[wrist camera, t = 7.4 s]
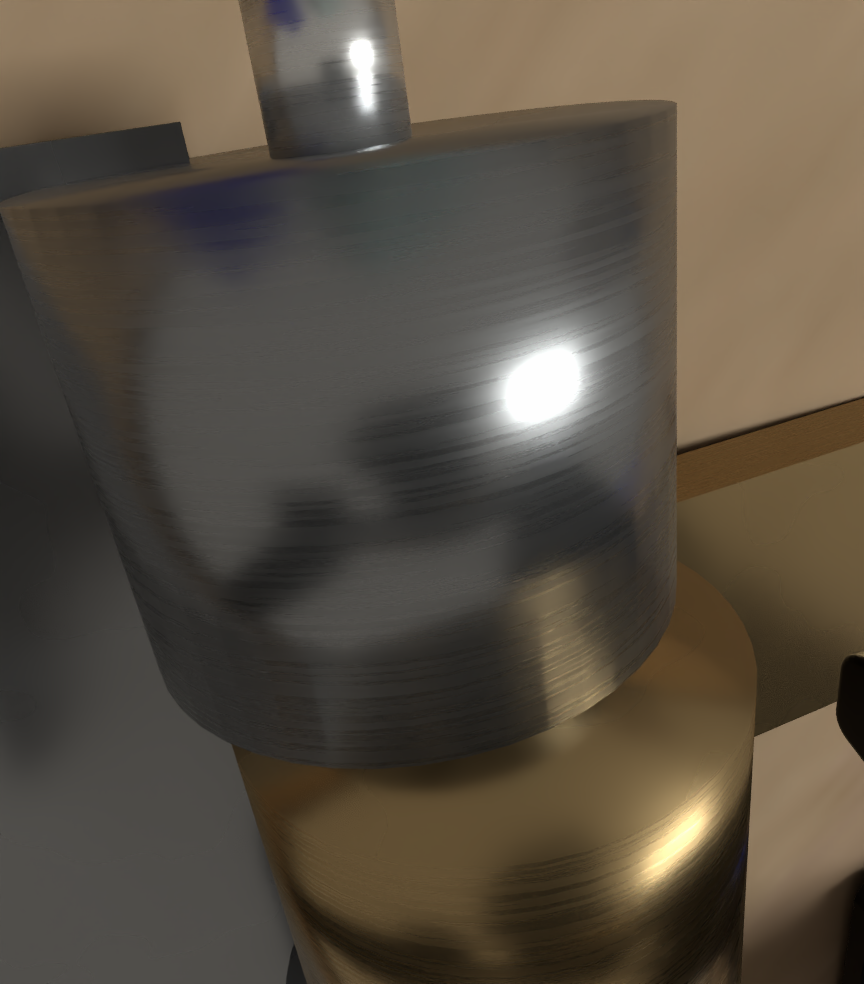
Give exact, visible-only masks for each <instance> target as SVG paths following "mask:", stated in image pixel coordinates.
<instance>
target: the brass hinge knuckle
mask: <svg viewBox="0 0 864 984" xmlns="http://www.w3.org/2000/svg"><path fill="white" fill-rule="evenodd" d="M862 650H864V398H863V399H860V400H856V401H853V402H850V403H847V404H843V405H840V406H837V407H833V408H830V409H827V410H824V411H820V412H817V413H814V414H811V415H807V416H804V417H801V418H798V419H794V420H791V421H788V422H785V423H781V424H778V425H775V426H772V427H768V428H765V429H762V430H759V431H755V432H752V433H749V434H745V435H742V436H739V437H736V438H732V439H729V440H726V441H723V442H719V443H716V444H713V445H710V446H706V447H703V448H700V449H697V450H693V451H690V452H687V453H684V454H680V455H677V584H676V603H675V606H674V609H673V613H672V616H671V620H670V623H669V625H668V627H667V629H666V631H665V633H664V635H663V636H662V638H661V640H660V642H659V644H658V646H657V647H656V648H655V650H654V651H653V652H652V653H651V655H650V656H649V657H648V658H647V659H646V661H645V662H644V663H643V664H642V666H641V667H640V668H639V669H638V670H637V671H636V672H635V673H634V674H633V675H632V676H630V677H629V678H628V679H627V680H626V681H625V682H624V683H623V684H622V685H620V686H619V687H618V688H617V689H616V690H615V691H613V692H612V693H611V694H609V695H608V696H606V697H605V698H603V699H602V700H600V701H599V702H597V703H596V704H594V705H593V706H591V707H590V708H589V709H587V710H586V711H584V712H582V713H580V714H578V715H576V716H574V717H573V718H571V719H569V720H567V721H565V722H563V723H561V724H559V725H557V726H555V727H553V728H551V729H550V730H547V731H545V732H542V733H539V734H537V735H534V736H532V737H529V738H527V739H524V740H522V741H519V742H517V743H514V744H511V745H509V746H505V747H502V748H498V749H494V750H491V751H487V752H484V753H480V754H477V755H473V756H470V757H466V758H460V759H455V760H449V761H444V762H438V763H432V764H427V765H421V766H409V767H397V768H384V769H344V768H327V767H319V766H311V765H303V764H295V763H290V762H286V761H282V760H278V759H274V758H270V757H266V756H262V755H258V754H255V753H253V752H250V751H248V750H245V749H243V748H240V747H238V746H235V745H233V744H231V745H232V748H233V751H234V754H235V757H236V760H237V764H238V767H239V770H240V773H241V776H242V779H243V783H244V786H245V789H246V792H247V795H248V798H249V802H250V805H251V808H252V811H253V814H254V817H255V821H256V824H257V827H258V830H259V833H260V836H261V840H262V843H263V846H264V849H265V852H266V855H267V859H268V862H269V865H270V868H271V871H272V874H273V878H274V881H275V884H276V887H277V890H278V893H279V897H280V900H281V903H282V906H283V909H284V912H285V916H286V919H287V922H288V925H289V928H290V931H291V935H292V938H293V941H294V944H295V947H296V950H297V954H298V957H299V960H300V963H301V966H302V969H303V973H304V976H305V979H306V982H307V984H741V965H742V947H743V929H744V911H745V892H746V874H747V856H748V838H749V819H750V801H751V783H752V765H753V746H754V737H755V736H757V735H760V734H762V733H764V732H767V731H769V730H771V729H774V728H776V727H778V726H781V725H783V724H785V723H788V722H790V721H792V720H795V719H797V718H799V717H802V716H804V715H806V714H809V713H811V712H813V711H816V710H818V709H820V708H823V707H825V706H827V705H829V704H832V703H834V702H836V701H837V698H838V689H839V680H840V671H841V665H842V662H843V661H844V659H845V658H846V657H847V656H849V655H851V654H854V653H857V652H860V651H862Z"/></svg>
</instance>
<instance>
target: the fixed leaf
mask: <svg viewBox="0 0 864 984" xmlns="http://www.w3.org/2000/svg"><path fill="white" fill-rule="evenodd" d="M238 1H239V6H240V11H241V16H242V21H243V25H244V30H245V35H246V40H247V45H248V50H249V55H250V60H251V65H252V70H253V75H254V80H255V84H256V89H257V94H258V99H259V104H260V109H261V114H262V119H263V124H264V129H265V134H266V139H267V143H268V145H264V146H258V147H252V148H246V149H240V150H234V151H228V152H223V153H217V154H211V155H205V156H199V157H194V158H189V156H188V152H187V148H186V144H185V140H184V136H183V132H182V127H181V123H180V122H174V123H167V124H160V125H154V126H147V127H140V128H133V129H127V130H120V131H113V132H106V133H99V134H93V135H86V136H79V137H72V138H66V139H59V140H52V141H45V142H38V143H32V144H25V145H18V146H11V147H5V148H0V984H307V982H306V979H305V976H304V973H303V969H302V966H301V963H300V960H299V957H298V954H297V950H296V947H295V944H294V941H293V938H292V935H291V931H290V928H289V925H288V922H287V919H286V916H285V912H284V909H283V906H282V903H281V900H280V897H279V893H278V890H277V887H276V884H275V881H274V878H273V874H272V871H271V868H270V865H269V862H268V859H267V855H266V852H265V849H264V846H263V843H262V840H261V836H260V833H259V830H258V827H257V824H256V821H255V817H254V814H253V811H252V808H251V805H250V802H249V798H248V795H247V792H246V789H245V786H244V783H243V779H242V776H241V773H240V770H239V767H238V764H237V760H236V757H235V754H234V751H233V748H232V745H231V744H233V745H235V746H238V747H240V748H243V749H245V750H248V751H250V752H253V753H255V754H258V755H262V756H266V757H270V758H274V759H278V760H282V761H286V762H290V763H295V764H303V765H311V766H319V767H327V768H344V769H384V768H397V767H409V766H421V765H427V764H432V763H438V762H444V761H449V760H455V759H460V758H466V757H470V756H473V755H477V754H480V753H484V752H487V751H491V750H494V749H498V748H502V747H505V746H509V745H511V744H514V743H517V742H519V741H522V740H524V739H527V738H529V737H532V736H534V735H537V734H539V733H542V732H545V731H547V730H550V729H551V728H553V727H555V726H557V725H559V724H561V723H563V722H565V721H567V720H569V719H571V718H573V717H574V716H576V715H578V714H580V713H582V712H584V711H586V710H587V709H589V708H590V707H591V706H593V705H594V704H596V703H597V702H599V701H600V700H602V699H603V698H605V697H606V696H608V695H609V694H611V693H612V692H613V691H615V690H616V689H617V688H618V687H619V686H620V685H622V684H623V683H624V682H625V681H626V680H627V679H628V678H629V677H630V676H632V675H633V674H634V673H635V672H636V671H637V670H638V669H639V668H640V667H641V666H642V664H643V663H644V662H645V661H646V659H647V658H648V657H649V656H650V655H651V653H652V652H653V651H654V650H655V648H656V647H657V646H658V644H659V642H660V640H661V638H662V636H663V635H664V633H665V631H666V629H667V627H668V625H669V623H670V620H671V616H672V613H673V609H674V606H675V603H676V584H677V103H675V102H673V101H665V100H633V101H614V102H600V103H587V104H576V105H565V106H555V107H545V108H535V109H526V110H517V111H508V112H499V113H491V114H482V115H474V116H466V117H458V118H450V119H442V120H435V121H427V122H420V123H412V124H411V123H410V115H409V107H408V100H407V92H406V84H405V77H404V69H403V62H402V54H401V46H400V39H399V31H398V23H397V16H396V8H395V0H238Z"/></svg>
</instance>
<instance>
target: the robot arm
mask: <svg viewBox="0 0 864 984" xmlns="http://www.w3.org/2000/svg"><path fill="white" fill-rule="evenodd" d="M836 716H837V721H838V724H839V727H840V729H841V731H842V733H843V734H844V736H845V738H846V739H847V740H848V742H849V743H850V744H851V746H852V747H853V748H854V749H855V751H856V752H857V753H858V755H859V756H860V757H861V759H862V760H863V761H864V650H862V651H860V652H857V653H854V654H851V655H849V656H847V657H846V658H845V659H844V661H843V662H842V665H841V671H840V680H839V689H838V698H837V707H836ZM842 984H864V884H863V885H862V886H861V888H860V889H859V891H858V892H857V894H856V896H855V899H854V904H853V911H852V918H851V925H850V932H849V939H848V947H847V954H846V961H845V968H844V975H843V982H842Z"/></svg>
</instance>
